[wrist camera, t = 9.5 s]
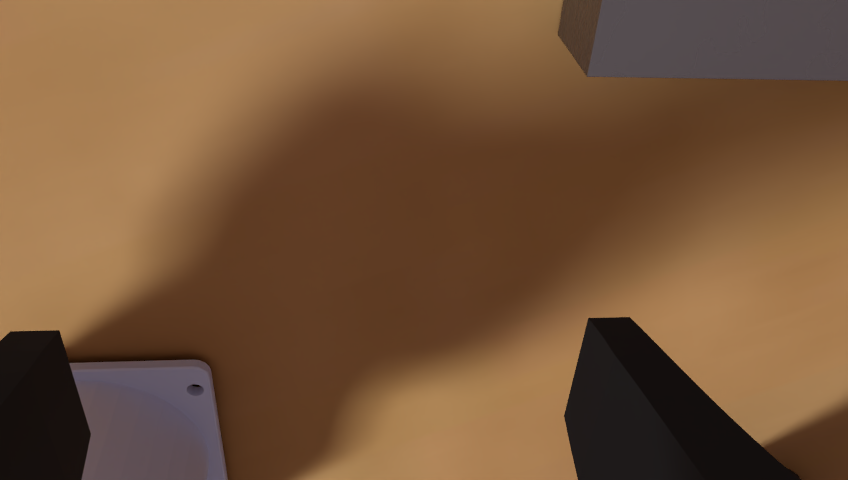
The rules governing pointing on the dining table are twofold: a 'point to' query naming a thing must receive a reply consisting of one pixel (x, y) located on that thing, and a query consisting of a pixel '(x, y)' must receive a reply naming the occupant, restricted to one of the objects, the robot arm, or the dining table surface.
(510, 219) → the dining table surface
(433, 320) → the dining table surface
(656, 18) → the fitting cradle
